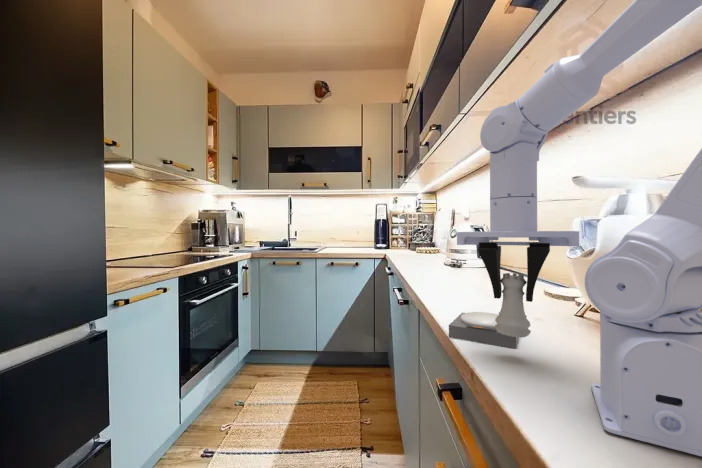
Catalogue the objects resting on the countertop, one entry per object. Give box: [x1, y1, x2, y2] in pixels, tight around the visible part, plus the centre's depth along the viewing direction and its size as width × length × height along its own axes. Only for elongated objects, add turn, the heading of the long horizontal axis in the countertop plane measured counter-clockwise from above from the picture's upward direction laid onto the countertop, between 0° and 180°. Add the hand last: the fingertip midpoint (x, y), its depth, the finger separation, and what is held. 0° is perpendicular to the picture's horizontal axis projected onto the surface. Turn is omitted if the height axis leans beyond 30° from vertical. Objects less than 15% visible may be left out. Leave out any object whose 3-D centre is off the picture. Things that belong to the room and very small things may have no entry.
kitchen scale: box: [448, 311, 520, 350], centre depth 53 cm, size 10×10×3 cm
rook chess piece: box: [494, 272, 532, 338], centre depth 42 cm, size 4×4×8 cm
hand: (513, 298), depth 42 cm, fingers closed on rook chess piece, 3 cm apart
